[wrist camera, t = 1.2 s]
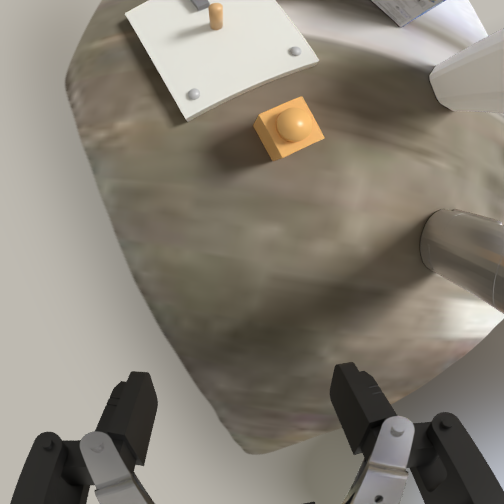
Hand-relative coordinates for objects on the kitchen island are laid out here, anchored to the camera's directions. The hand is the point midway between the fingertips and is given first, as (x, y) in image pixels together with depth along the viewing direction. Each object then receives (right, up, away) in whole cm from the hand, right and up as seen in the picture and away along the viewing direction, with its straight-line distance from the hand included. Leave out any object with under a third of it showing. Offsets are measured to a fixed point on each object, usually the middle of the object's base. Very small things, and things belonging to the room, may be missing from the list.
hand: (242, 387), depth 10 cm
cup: (+29, +30, +16) cm, 45 cm away
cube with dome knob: (+3, +18, +17) cm, 25 cm away
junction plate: (-4, +31, +12) cm, 33 cm away
